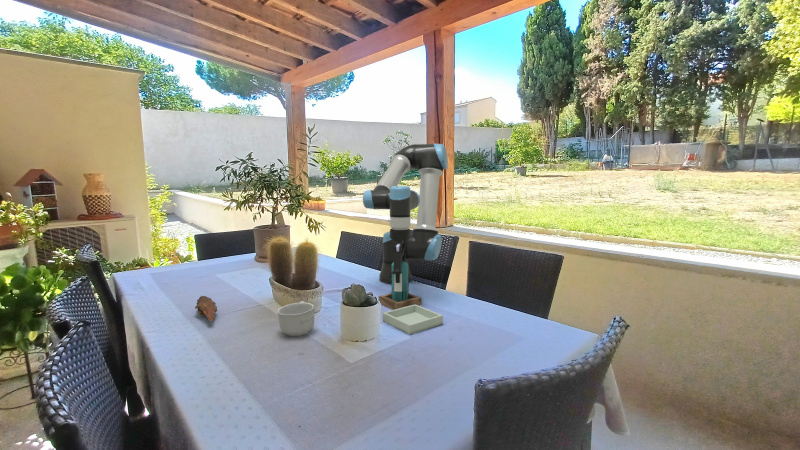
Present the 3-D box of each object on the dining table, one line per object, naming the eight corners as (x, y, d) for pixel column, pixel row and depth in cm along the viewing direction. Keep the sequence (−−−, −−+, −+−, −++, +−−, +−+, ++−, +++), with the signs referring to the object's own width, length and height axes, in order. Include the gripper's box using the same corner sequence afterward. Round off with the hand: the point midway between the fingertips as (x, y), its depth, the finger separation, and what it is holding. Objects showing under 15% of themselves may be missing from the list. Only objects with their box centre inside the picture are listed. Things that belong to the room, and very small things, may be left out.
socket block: (402, 297, 152) (402, 290, 152) (421, 305, 143) (421, 297, 143) (378, 303, 145) (378, 296, 145) (397, 312, 136) (397, 303, 136)
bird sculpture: (202, 330, 120) (201, 314, 119) (190, 308, 140) (189, 295, 139) (225, 325, 124) (224, 310, 123) (210, 304, 144) (209, 291, 143)
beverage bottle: (401, 308, 140) (401, 254, 137) (387, 305, 144) (387, 252, 141) (412, 304, 145) (412, 252, 142) (398, 300, 149) (398, 250, 146)
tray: (415, 312, 136) (415, 304, 136) (442, 324, 125) (442, 315, 125) (382, 321, 127) (382, 312, 127) (409, 335, 116) (409, 325, 116)
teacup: (305, 341, 112) (304, 314, 111) (271, 338, 114) (270, 312, 113) (324, 323, 126) (323, 299, 125) (293, 321, 128) (292, 297, 127)
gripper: (394, 224, 153) (394, 278, 155) (384, 232, 130) (385, 295, 133) (413, 224, 152) (412, 279, 154) (406, 232, 129) (406, 296, 132)
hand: (399, 286), depth 143 cm, fingers open, 10 cm apart
